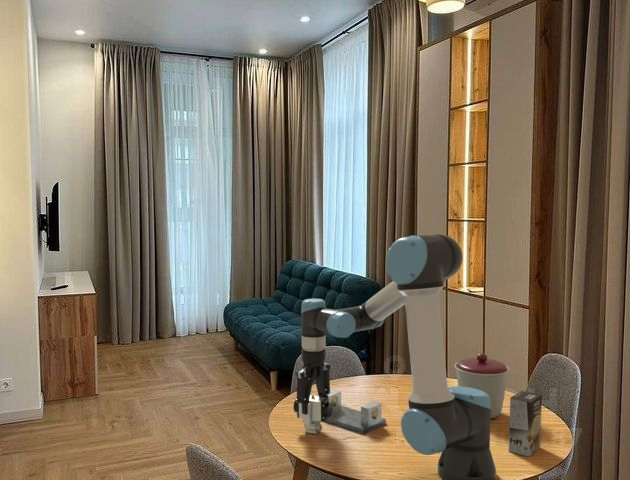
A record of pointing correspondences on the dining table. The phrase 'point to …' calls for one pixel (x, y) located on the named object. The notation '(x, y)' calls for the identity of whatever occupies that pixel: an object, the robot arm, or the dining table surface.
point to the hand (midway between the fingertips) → (313, 420)
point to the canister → (484, 379)
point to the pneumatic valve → (315, 412)
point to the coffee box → (525, 423)
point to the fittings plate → (355, 415)
